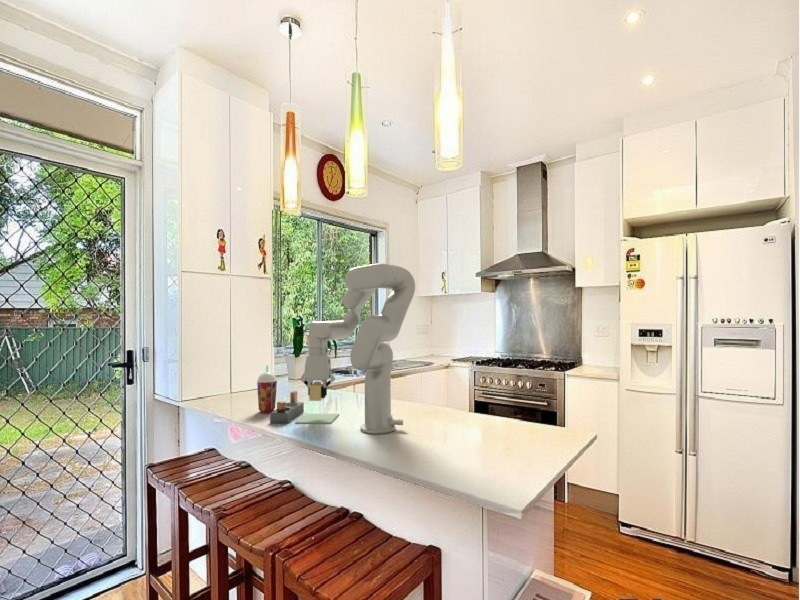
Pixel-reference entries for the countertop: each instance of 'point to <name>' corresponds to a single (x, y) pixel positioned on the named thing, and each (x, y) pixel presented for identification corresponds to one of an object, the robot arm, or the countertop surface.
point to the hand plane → (287, 410)
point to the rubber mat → (317, 419)
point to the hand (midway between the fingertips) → (317, 396)
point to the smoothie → (266, 392)
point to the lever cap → (316, 391)
